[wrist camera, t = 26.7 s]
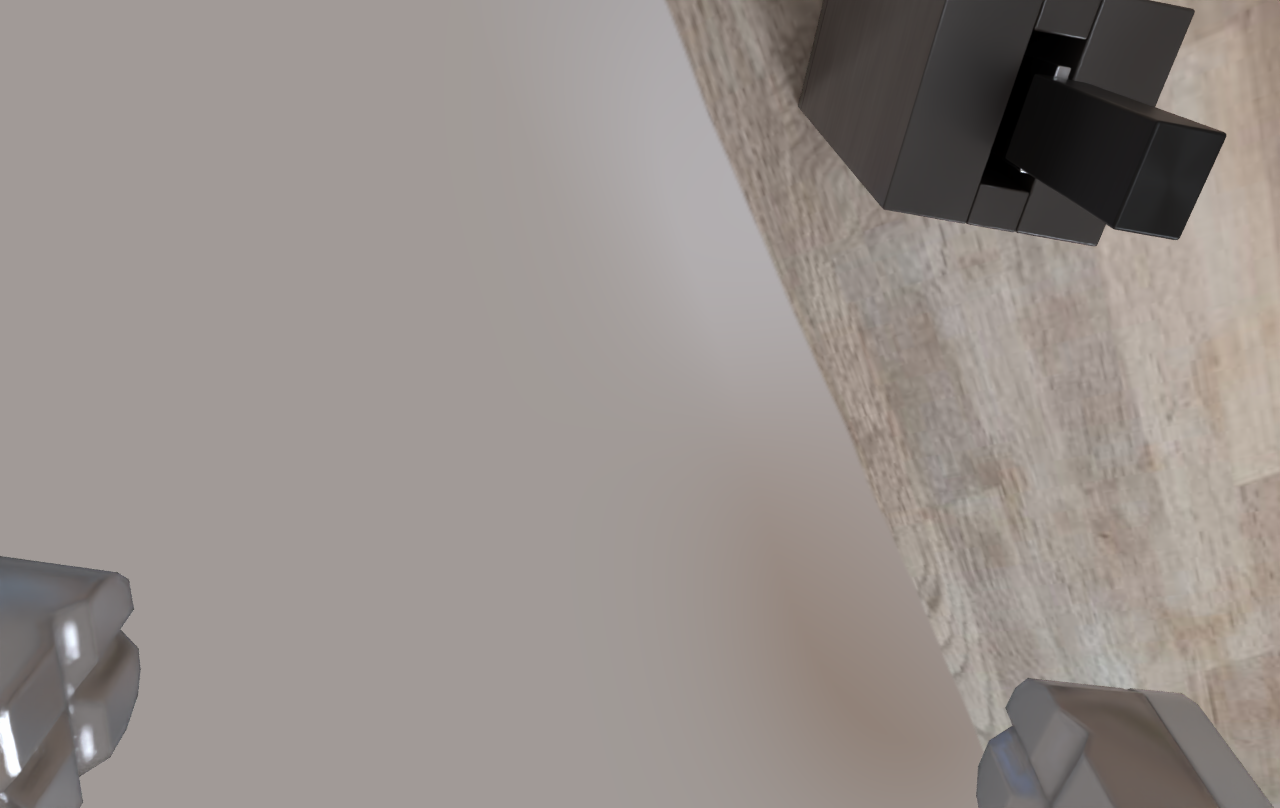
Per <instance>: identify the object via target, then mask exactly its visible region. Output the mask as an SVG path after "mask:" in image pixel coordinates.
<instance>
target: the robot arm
mask: <svg viewBox="0 0 1280 808" xmlns="http://www.w3.org/2000/svg"><path fill="white" fill-rule="evenodd" d="M133 610H134V607H133V601H132V595H131V589H130V582H129V580H128V579H127V578H126V577H124V576H122V575H121V574H119V573H118V572H111V571H103V570H95V569H89V568H82V567H75V566H74V567H73V566H67V565H60V564H53V563H45V562H39V561H31V560H23V559H16V558H10V557H2V556H0V808H80V806H81V805H82V803H83V800H82V793H81V787H80V780H79V777H80V776H81V775H83V774H84V773H86V772H88V771H89V770H91V769H92V768H94V767H96V766H97V765H99V764H100V763H102V762H104V761H105V760H107V759H108V758H110V757H111V755H112V753H113V752H114V750H115V748H116V746H117V745H118V743H119V741H120V740H121V738H122V736H123V734H124V733H125V731H126V729H127V726H128V723H129V720H130V717H131V714H132V711H133V708H134V705H135V702H136V699H137V697H138V689H139V680H140V670H141V669H140V659H139V649H138V648H137V646H136V645H135V644H134V643H133V642H132V641H131V640H130V639H129V638H128V637H127V636H126V635H125V634H124V633H123V632H122V631H121V627H122V626H123V624H124V623H125V622H126V620H127V619H128V617H129V616H130V614H131V613H132V611H133ZM1005 708H1006V710H1007V713H1008V715H1009V718H1010V720H1011V723H1012V725H1013V726H1011V727H1010V728H1008V729H1007V730H1005V731H1003V732H1002V733H1000V734H999V735H997V736H996V737H994V738H993V739H991V740H990V741H989V742H988V745H987V747H986V749H985V752H984V754H983V756H982V759H981V761H980V763H979V766H978V777H977V792H976V794H977V795H976V796H977V801H978V807H979V808H1274V807H1273V806H1272V804H1271V803H1270V802H1269V800H1268V799H1267V797H1266V796H1265V795H1264V793H1263V792H1262V791H1261V789H1260V788H1259V787H1258V785H1257V784H1256V783H1255V781H1254V780H1253V778H1252V777H1251V776H1250V774H1249V773H1248V772H1247V770H1246V769H1245V768H1244V766H1243V765H1242V764H1241V762H1240V761H1239V759H1238V758H1237V757H1236V755H1235V754H1234V753H1233V751H1232V750H1231V749H1230V747H1229V746H1228V744H1227V743H1226V742H1225V740H1224V739H1223V738H1222V736H1221V735H1220V734H1219V732H1218V731H1217V730H1216V728H1215V727H1214V725H1213V724H1212V723H1211V721H1210V720H1209V719H1208V717H1207V716H1206V715H1205V713H1204V712H1203V711H1202V709H1201V708H1200V706H1199V705H1198V704H1196V703H1195V702H1194V701H1192V700H1191V699H1189V698H1188V697H1186V696H1185V695H1183V694H1182V693H1174V692H1163V691H1153V690H1143V689H1133V688H1130V689H1123V688H1116V687H1107V686H1097V685H1088V684H1079V683H1069V682H1060V681H1051V680H1042V679H1032V678H1027V679H1026V680H1025V681H1023V682H1022V683H1021V684H1020V685H1018V686H1017V687H1016V688H1015V690H1014V692H1013V694H1012V695H1011V697H1010V699H1009V701H1008V703H1007V705H1006V707H1005Z"/></svg>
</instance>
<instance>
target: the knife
mask: <svg viewBox="0 0 1280 808" xmlns="http://www.w3.org/2000/svg"><path fill="white" fill-rule="evenodd" d="M1070 70H1071V68H1070V67H1067V66H1064V65H1061V64H1058V63H1055V62H1052V61H1049V60H1046V59H1044V58H1041V57H1038V56H1035V55H1032V54H1029V53H1026V52H1025V54H1024V57H1023V60H1022V63H1021V65H1020V68H1019V71H1018V74H1017V77H1016V80H1015V83H1014V86H1013V89H1012V91H1011V94H1010V97H1009V100H1008V103H1007V106H1006V109H1005V112H1004V115H1003V117H1002V120H1001V123H1000V126H999V129H998V132H997V135H996V138H995V141H994V143H993V146H992V149H991V153H992V154H994V155H995V156H997V157H998V158H1000V159H1001V160H1003V161H1004V162H1006V163H1007V164H1009V165H1010V166H1012V167H1014V168H1015V169H1017V170H1018V171H1020V172H1022V173H1028V174H1030V175H1031V176H1033V177H1034V178H1036V179H1038V180H1039V181H1041V182H1042V183H1044V184H1045V185H1047V186H1048V187H1050V188H1051V189H1053V190H1054V191H1056V192H1057V193H1059V194H1061V195H1062V196H1064V197H1065V198H1067V199H1068V200H1070V201H1071V202H1073V203H1074V204H1076V205H1077V206H1079V207H1080V208H1082V209H1084V210H1085V211H1087V212H1088V213H1090V214H1091V215H1093V216H1094V217H1096V218H1097V219H1099V220H1100V221H1102V222H1103V223H1105V224H1107V225H1108V226H1110V227H1111V228H1113V229H1115V230H1121V231H1127V232H1132V233H1138V234H1144V235H1149V236H1155V237H1161V238H1166V239H1172V240H1178V239H1179V238H1180V236H1181V234H1182V232H1183V230H1184V228H1185V225H1186V223H1187V221H1188V219H1189V217H1190V214H1191V212H1192V210H1193V208H1194V206H1195V204H1196V201H1197V199H1198V197H1199V195H1200V193H1201V191H1202V188H1203V186H1204V184H1205V182H1206V180H1207V177H1208V175H1209V173H1210V171H1211V169H1212V167H1213V164H1214V162H1215V160H1216V158H1217V156H1218V153H1219V151H1220V149H1221V147H1222V145H1223V143H1224V140H1225V138H1226V133H1224V132H1222V131H1219V130H1217V129H1214V128H1211V127H1208V126H1205V125H1203V124H1200V123H1197V122H1194V121H1192V120H1189V119H1186V118H1183V117H1180V116H1178V115H1175V114H1172V113H1169V112H1166V111H1164V110H1161V109H1158V108H1155V107H1153V106H1150V105H1147V104H1144V103H1141V102H1139V101H1136V100H1133V99H1130V98H1128V97H1125V96H1122V95H1119V94H1116V93H1114V92H1111V91H1108V90H1105V89H1103V88H1100V87H1097V86H1094V85H1091V84H1089V83H1085V82H1080V81H1074V80H1069V79H1067V78H1068V76H1069V73H1070Z"/></svg>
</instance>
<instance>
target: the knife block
mask: <svg viewBox="0 0 1280 808" xmlns="http://www.w3.org/2000/svg"><path fill="white" fill-rule="evenodd" d="M1194 12H1195V10H1193V9H1191V8H1186V7H1181V6H1176V5H1171V4H1166V3H1161V2H1156V1H1151V0H824V2H823V6H822V10H821V14H820V18H819V22H818V26H817V31H816V35H815V39H814V43H813V47H812V51H811V55H810V59H809V63H808V67H807V71H806V76H805V80H804V84H803V88H802V92H801V96H800V100H799V104H798V107H799V108H800V110H801V111H802V112H803V113H804V114H805V116H806V117H807V118H808V119H809V120H810V122H811V123H812V124H813V125H814V126H815V128H816V129H817V130H818V131H819V133H820V134H821V135H822V136H823V137H824V139H825V140H826V141H827V142H828V143H829V145H830V146H831V147H832V148H833V149H834V151H835V152H836V153H837V154H838V155H839V157H840V158H841V159H842V160H843V161H844V163H845V164H846V165H847V166H848V167H849V169H850V170H851V171H852V172H853V173H854V175H855V176H856V177H857V178H858V179H859V181H860V182H861V183H862V184H863V185H864V187H865V188H866V189H867V190H868V191H869V193H870V194H871V195H872V196H873V197H874V199H875V200H876V201H877V202H878V203H879V205H880V206H881V207H882V208H883V209H884V210H890V211H896V212H901V213H907V214H913V215H918V216H924V217H930V218H935V219H941V220H947V221H952V222H958V223H967V224H970V225H975V226H981V227H987V228H992V229H998V230H1004V231H1009V232H1017V233H1021V234H1027V235H1033V236H1038V237H1044V238H1050V239H1055V240H1061V241H1067V242H1072V243H1078V244H1084V245H1090V246H1097V244H1098V242H1099V239H1100V237H1101V235H1102V232H1103V230H1104V227H1105V225H1106V224H1105V223H1103V222H1102V221H1100V220H1099V219H1097V218H1096V217H1094V216H1093V215H1091V214H1090V213H1088V212H1087V211H1085V210H1084V209H1082V208H1080V207H1079V206H1077V205H1076V204H1074V203H1073V202H1071V201H1070V200H1068V199H1067V198H1065V197H1064V196H1062V195H1061V194H1059V193H1057V192H1056V191H1054V190H1053V189H1051V188H1050V187H1048V186H1047V185H1045V184H1044V183H1042V182H1041V181H1039V180H1038V179H1036V178H1034V177H1033V176H1031V175H1030V174H1028V173H1022V172H1020V171H1018V170H1017V169H1015V168H1014V167H1012V166H1010V165H1009V164H1007V163H1006V162H1004V161H1003V160H1001V159H1000V158H998V157H997V156H995V155H994V154H992V153H991V149H992V146H993V143H994V141H995V138H996V135H997V132H998V129H999V126H1000V123H1001V120H1002V117H1003V115H1004V112H1005V109H1006V106H1007V103H1008V100H1009V97H1010V94H1011V91H1012V89H1013V86H1014V83H1015V80H1016V77H1017V74H1018V71H1019V68H1020V65H1021V63H1022V60H1023V57H1024V54H1025V52H1026V53H1029V54H1032V55H1035V56H1038V57H1041V58H1044V59H1046V60H1049V61H1052V62H1055V63H1058V64H1061V65H1064V66H1067V67H1070V68H1071V70H1070V73H1069V76H1068V78H1067V79H1069V80H1074V81H1080V82H1085V83H1089V84H1091V85H1094V86H1097V87H1100V88H1103V89H1105V90H1108V91H1111V92H1114V93H1116V94H1119V95H1122V96H1125V97H1128V98H1130V99H1133V100H1136V101H1139V102H1141V103H1144V104H1147V105H1150V106H1153V107H1155V106H1156V103H1157V101H1158V99H1159V96H1160V94H1161V91H1162V89H1163V87H1164V84H1165V82H1166V79H1167V77H1168V75H1169V72H1170V70H1171V68H1172V65H1173V63H1174V60H1175V58H1176V56H1177V53H1178V51H1179V48H1180V46H1181V44H1182V41H1183V39H1184V36H1185V34H1186V32H1187V29H1188V27H1189V25H1190V22H1191V20H1192V17H1193V15H1194Z"/></svg>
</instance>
